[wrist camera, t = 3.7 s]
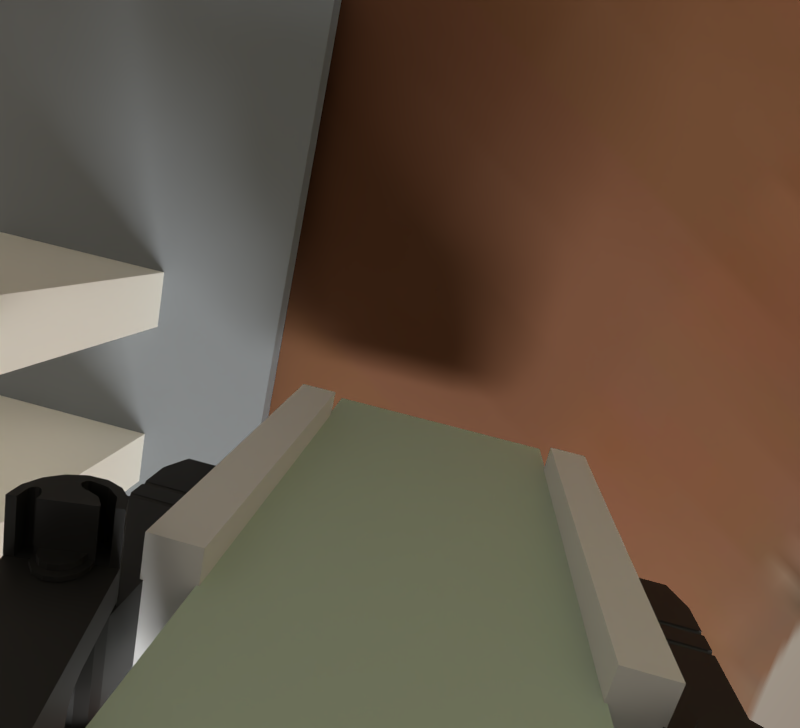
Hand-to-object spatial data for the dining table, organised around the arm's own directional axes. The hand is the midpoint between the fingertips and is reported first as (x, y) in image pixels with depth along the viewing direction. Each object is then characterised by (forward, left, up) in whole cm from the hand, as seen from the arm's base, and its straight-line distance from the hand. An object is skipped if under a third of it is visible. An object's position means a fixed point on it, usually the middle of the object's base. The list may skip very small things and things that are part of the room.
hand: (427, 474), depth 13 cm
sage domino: (0, 0, -1) cm, 1 cm away
